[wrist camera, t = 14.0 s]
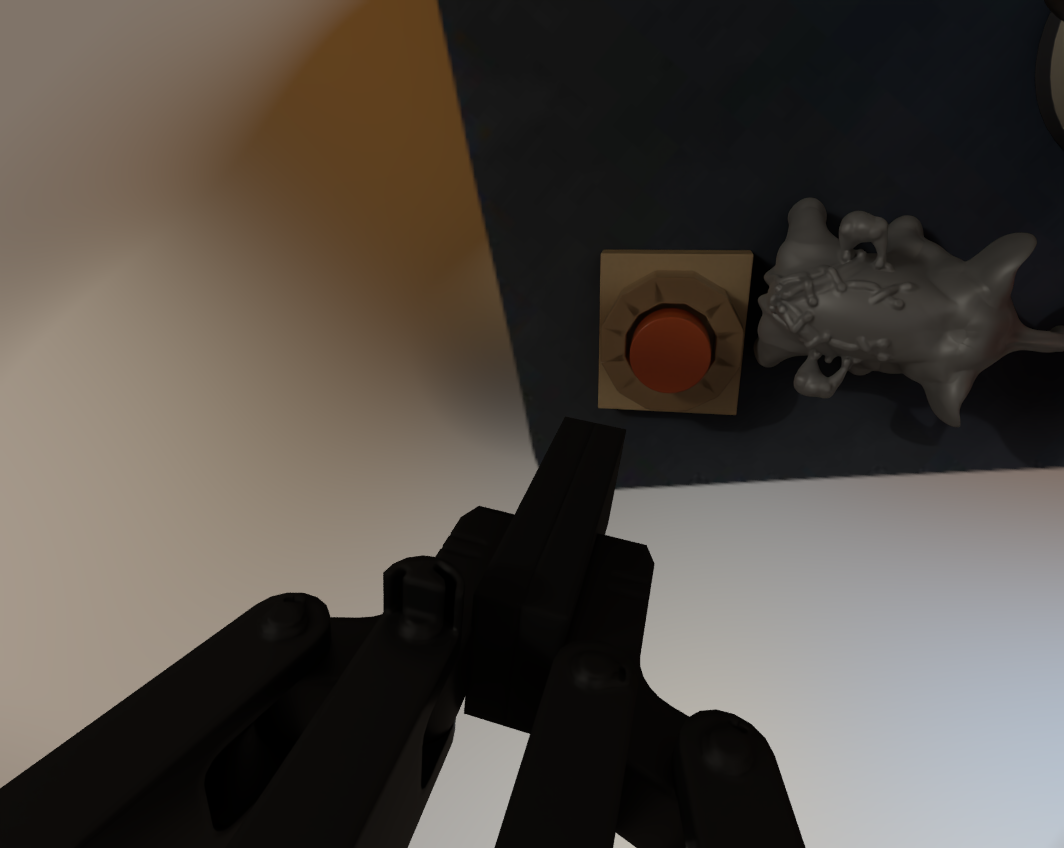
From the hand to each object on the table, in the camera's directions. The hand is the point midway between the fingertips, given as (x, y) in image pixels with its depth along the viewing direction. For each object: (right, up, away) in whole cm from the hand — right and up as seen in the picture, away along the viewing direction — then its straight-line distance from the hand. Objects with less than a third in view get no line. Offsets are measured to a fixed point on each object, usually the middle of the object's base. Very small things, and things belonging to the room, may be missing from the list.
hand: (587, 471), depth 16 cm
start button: (+5, +5, +15) cm, 16 cm away
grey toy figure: (+15, +8, +14) cm, 22 cm away
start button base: (+6, +6, +17) cm, 19 cm away
